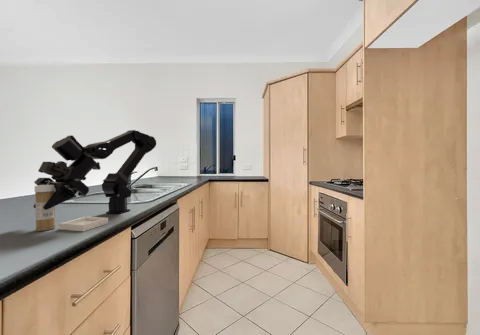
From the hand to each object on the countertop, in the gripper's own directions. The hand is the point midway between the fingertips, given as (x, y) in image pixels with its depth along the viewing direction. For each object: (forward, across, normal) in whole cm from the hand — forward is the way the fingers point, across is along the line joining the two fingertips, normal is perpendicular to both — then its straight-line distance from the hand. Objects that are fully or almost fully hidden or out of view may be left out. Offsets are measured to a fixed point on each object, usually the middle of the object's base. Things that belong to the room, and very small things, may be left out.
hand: (39, 208), depth 65 cm
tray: (-1, +8, +10) cm, 13 cm away
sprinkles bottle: (+4, 0, +6) cm, 7 cm away
